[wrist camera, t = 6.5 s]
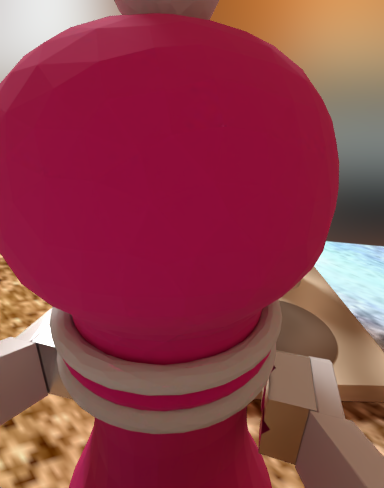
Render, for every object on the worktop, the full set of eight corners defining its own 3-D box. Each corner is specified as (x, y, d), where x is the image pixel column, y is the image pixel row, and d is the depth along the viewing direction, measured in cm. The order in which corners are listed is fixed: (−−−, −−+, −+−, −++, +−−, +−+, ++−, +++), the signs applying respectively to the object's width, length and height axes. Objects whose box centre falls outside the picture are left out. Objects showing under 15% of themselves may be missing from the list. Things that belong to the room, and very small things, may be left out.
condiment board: (165, 397, 19) (165, 379, 19) (178, 268, 36) (178, 257, 35) (404, 402, 19) (412, 385, 19) (307, 271, 36) (309, 260, 35)
